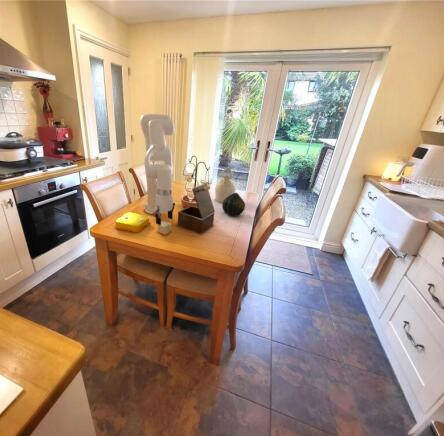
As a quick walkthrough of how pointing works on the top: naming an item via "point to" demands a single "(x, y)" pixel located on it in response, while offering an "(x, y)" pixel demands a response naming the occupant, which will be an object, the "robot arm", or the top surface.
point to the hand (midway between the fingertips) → (164, 221)
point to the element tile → (132, 222)
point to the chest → (194, 220)
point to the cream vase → (224, 187)
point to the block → (164, 228)
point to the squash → (233, 204)
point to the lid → (203, 200)
